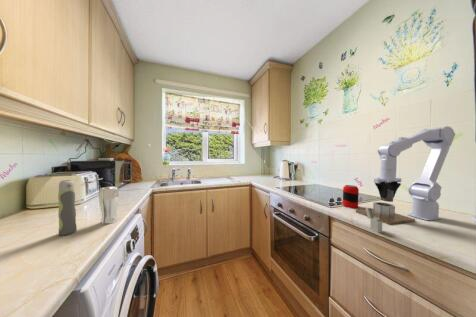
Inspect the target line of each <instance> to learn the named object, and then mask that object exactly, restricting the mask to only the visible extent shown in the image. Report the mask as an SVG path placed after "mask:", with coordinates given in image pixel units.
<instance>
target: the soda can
mask: <svg viewBox="0 0 476 317" xmlns="http://www.w3.org/2000/svg"><path fill="white" fill-rule="evenodd" d="M359 192H360V190H359V187H358V186H357V185H351V184H345V185H344V186H343V187H342V206H343V207H345V208H349V209H357V208H358V207H359Z"/></svg>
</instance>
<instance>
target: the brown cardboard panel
mask: <svg viewBox="0 0 476 317" xmlns="http://www.w3.org/2000/svg"><path fill="white" fill-rule="evenodd" d="M372 211H373V215H374V217H377V218H379V221H381V222H382V224H386V225H396V224H405V223H412V222H416V219H415V218H414V217H413V218H412V217H411V216H410V217H409V216H405V215H403V214H400V213H397V212H396V206H395V205H394V204H391V203H389V202H383V201H382V202H380V201H378V202H377V201H375V202H374V201H373V204H372ZM355 213H356V214H360V215H362V216H365V217H367V218H368V216H367V212H366V208H365V209H356V210H355Z"/></svg>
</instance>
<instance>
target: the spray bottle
mask: <svg viewBox="0 0 476 317" xmlns="http://www.w3.org/2000/svg"><path fill="white" fill-rule="evenodd" d="M57 199H58V235H59V236H67V235H72V234H74V233H75V232H76V231H77V228H78V227H77V220H76V219H77V217H76V216H77V211H76V210H77V209H76V193H75V182H74V181H73V180H72V179H65V180H61V181H60V182H59V183H58V197H57Z"/></svg>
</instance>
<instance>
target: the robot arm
mask: <svg viewBox="0 0 476 317" xmlns="http://www.w3.org/2000/svg"><path fill="white" fill-rule="evenodd" d="M455 136H456V133H455V131H454V129H453V128H452V126H448V125H447V126H442V127H441V126H440V127H434V128H432V127H431V128H423V129H421V130H419V131H417V132H416V133H414V134H412V135H411V136H408V137H405V136H400V137H398V138H397V139H396V140H393V141H390V142H389V143H388V144H382V145H380V147H379V149H378V150H377V153H378V155H379V159H380V172H379V173H380V176H379V177H377V178H374V179H373V183H374V185H375V187H376V188H377V191H378V193H379V196H380V199H381V198H386V197H387V191H388V190H393V191H394V192H393V199H394V198H395V195H396V193H397V191H398V189H399V188H400V187H401V185H402V178H400V177H397V162H398V161H397V160H398V156H400V154H401V153H402V152H404V151H407V150H409V149H410V148H412V146H413V144H416V143H418V142H421V141H422V142H424V144H425V145H426V146H427V147H429V148H431V150H430V152H429V156H428V158H427V160H426V163H425V165H424V167H423V170H422V172H421V175H420V176H419V178H417V179H415V180H414V179H413V181H412V183H411V184H410V185H409V187H408V190H407V192H408V194H409V195H410V197H411V198H412V208H411V210H412V212H410V213H407V216H410V217H413V218H417V219H419V220H424V221H434V220H435V221H436V220H441V219H442V218H441V217H439V214H440V212H439V211H440V205H439V202H437V201H438V200H439V199H440V197H441V194H442V193H441V191H442V188H443V187H442V186H441V184H439V183H438V182H437V179H439V175H440V173H441V171H442V167H443V166H444V163H445V161H446V158H447V156H448V153H449V150H450V148H451V146H452V144H453V142H454V139H455Z"/></svg>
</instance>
